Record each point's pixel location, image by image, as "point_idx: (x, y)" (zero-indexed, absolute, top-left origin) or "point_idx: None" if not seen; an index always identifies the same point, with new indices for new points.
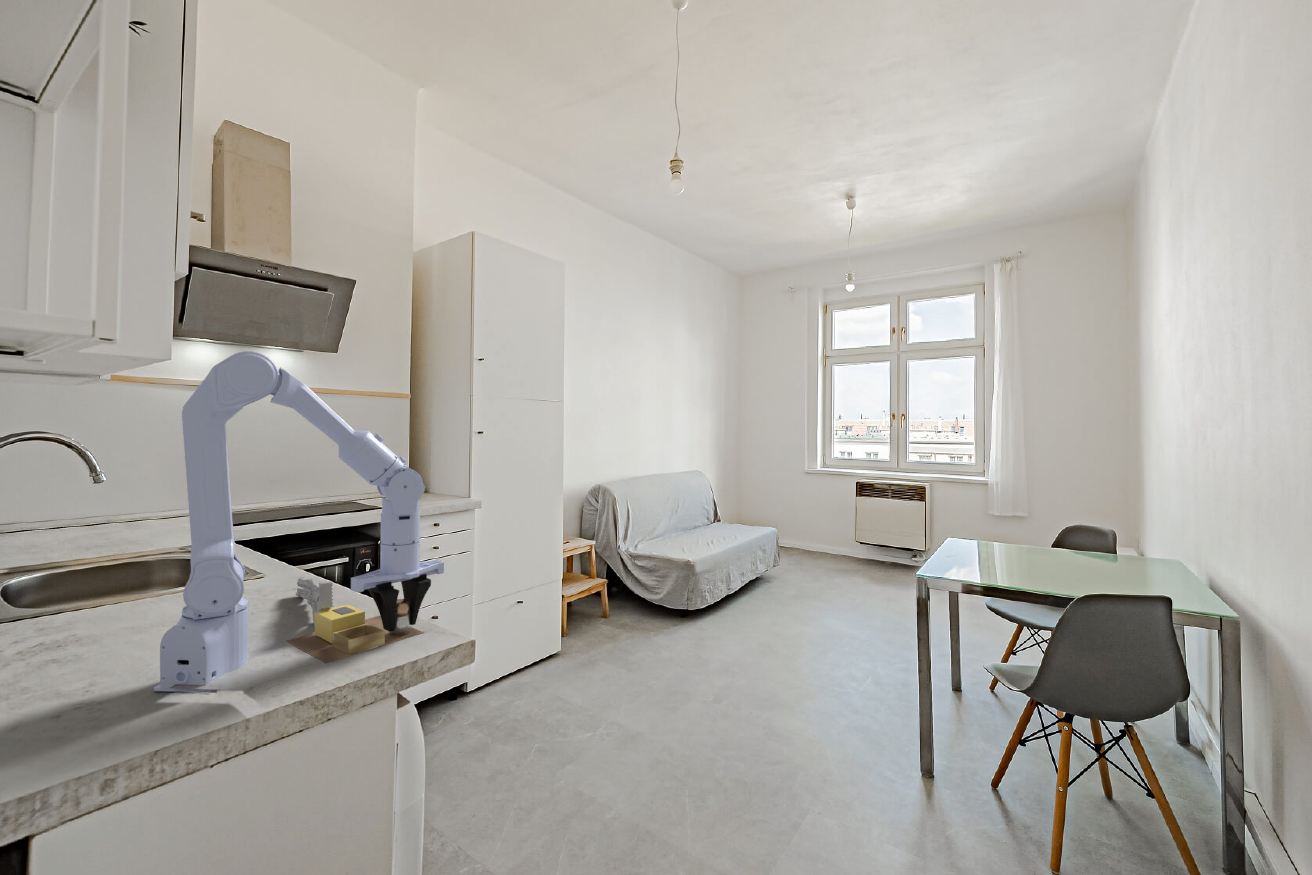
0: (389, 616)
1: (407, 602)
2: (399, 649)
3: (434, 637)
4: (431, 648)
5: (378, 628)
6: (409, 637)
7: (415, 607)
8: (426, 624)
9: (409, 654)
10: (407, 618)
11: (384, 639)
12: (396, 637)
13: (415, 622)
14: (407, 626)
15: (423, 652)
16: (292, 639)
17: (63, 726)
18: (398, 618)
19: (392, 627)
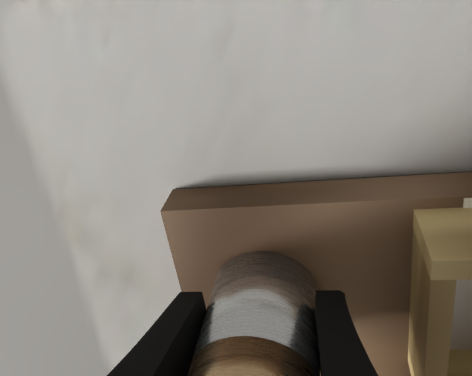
0: (370, 362)
1: None
2: (328, 163)
3: (118, 185)
4: (186, 48)
5: (430, 322)
6: (254, 206)
7: (152, 369)
8: (100, 337)
9: (325, 52)
10: (227, 321)
11: (419, 226)
12: (311, 249)
13: (177, 297)
14: (235, 282)
15: (248, 20)
16: None
17: None
18: (288, 339)
19: (333, 301)
